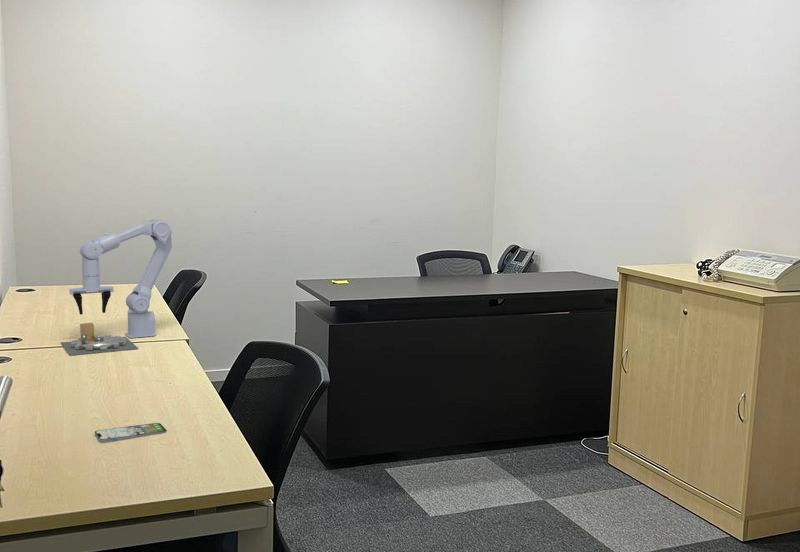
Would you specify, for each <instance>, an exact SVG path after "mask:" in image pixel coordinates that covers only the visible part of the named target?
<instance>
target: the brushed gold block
mask: <svg viewBox="0 0 800 552" xmlns="http://www.w3.org/2000/svg"><path fill="white" fill-rule="evenodd" d="M79 330H80V331H79V333H80V335H79V338H81V335H87V339H94V336H95V325H94V323H93V322H86V323H85V322H83V323H79Z"/></svg>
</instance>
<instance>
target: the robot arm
mask: <svg viewBox="0 0 800 552" xmlns="http://www.w3.org/2000/svg"><path fill="white" fill-rule="evenodd" d="M172 233H173V232H172V229H171V226H170V224H169V223H167V221H165V220H159V219H155V218H153V219H150V220H149V221H148V220H145V221H143V222H140V223H139V224H136V225H134V226H132V227H130V228H128V229H125V230H122V231H121V232H119V233H117V234H116V233H114V232H110V233H109V232H105V233H104V235H102V236H100V237H98V238H92V239H91V241H86V242H84V243H83V244H82V245H81V246H80V248H79V254H80V255H81V256H82V257H81V258H82V259H81V262H82V263H81V267H82V268H81V269H82V270H81V271H82V272H81V273H82V287H76V288H75V287H74V288H69V290H68V291H69V295H70V296H73V298H74V300H75V301H74V302H75V303H76V305H77V307H78V312H79V315H81V316H82V315H83V304H82V303H83V296H82V295H83V294H85V295H86V294H88V295H89V294H101V304H102V305H101V312H102V313H103V314H105V313H106V311H107V310H106V309H107V305H108V302H109V299H110V298H111V295H112V293H114V286H111V285H110V286H101V276H100V273H101V272H100V271H101V270H100V260H99V259H100V256H101V255H103V254H106V253H109V252H110V251H111V252H112V251H113V250H115V249H118V248H120V246H121V243H124V242H125V241H128V240H131V239H133V238H136V237H138V236H141V235H145V236H150V237H151V238H152V239H153V242H154V244H155V249H154V251H153V252H152V255H151V257H150V259H149V261H148V263H147V266H146V267H145V270H144V272H143V273H142V275H141V277H140V280H139V282H138V284H137V285H136V286H135V287H134V288H133V289H132V292H131V293H130V294H128V295H127V296H126V299H125V304H126V307H128V310H127V332H126V333H125V335H126V336H127V338H128V339H135V338H145V337H156V335H157V334H156V316H155V312H154V311H153V310H152V311H151V310H150V311H149V308H150V306H151V305H150V302H151V301H150V300H151V297H152V289H153V288H154V286H155V284H156V281H157V280H158V278H159V275H160V273H161V271H162V269H163V267H164V265H165V263H166V261H167V258H168V257H169V255H170V253H171V250H172V248H173V245H172V244H173V243H172Z"/></svg>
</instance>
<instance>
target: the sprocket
mask: <svg viewBox="0 0 800 552" xmlns="http://www.w3.org/2000/svg"><path fill="white" fill-rule="evenodd" d="M122 337H123V336H119V335H116V336H115V335H114V336H112V335H111V334H110V335H109V334H108V335H107V334H105V335H103V336H101V335H100V336H99V335H94V339H87V335H81V338H80V337H78V339H73V340H70V342H71V347H75V349H79V350H80V349H86V350H94V349H100V350H104V349H107V348H117V347H120V346H119V345H125V344H126V338H127V337H126V338H122Z"/></svg>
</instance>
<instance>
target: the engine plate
mask: <svg viewBox="0 0 800 552" xmlns="http://www.w3.org/2000/svg"><path fill="white" fill-rule="evenodd" d="M121 337H122V338H126V344H125V345H119V346H120V347H117V348H107V349H104V350H100V349H94V350H86V349H80V350H79V349H75V347H71V341H61V342H60V345H61V346H62V347H63V349H64V350H65V352H66V353H67V355H68V356H70V357H73V356H82V355H84V356H85V355H93V354H103V353H113V352H124V351H133V350H134V351H136V350H139V347H138V346H137V345H136V344H134V342H132V341H131V340H130V338H129V337H126V336H121Z"/></svg>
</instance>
